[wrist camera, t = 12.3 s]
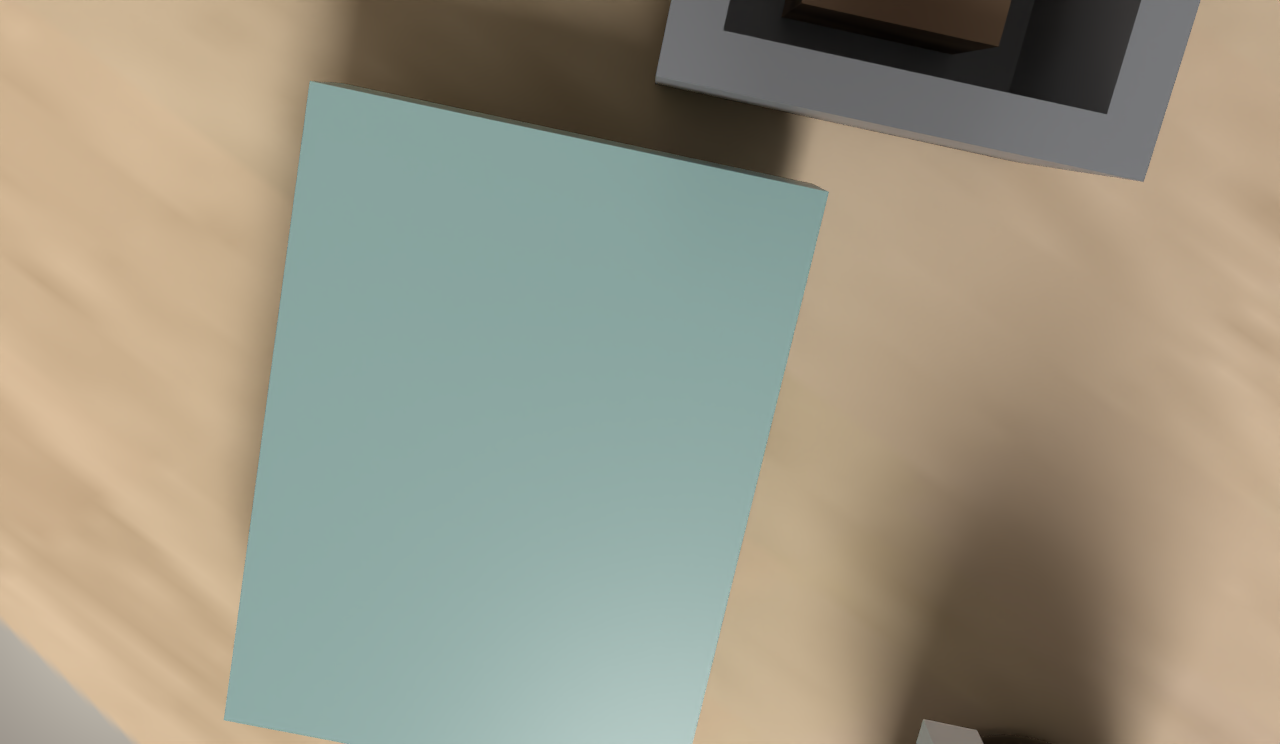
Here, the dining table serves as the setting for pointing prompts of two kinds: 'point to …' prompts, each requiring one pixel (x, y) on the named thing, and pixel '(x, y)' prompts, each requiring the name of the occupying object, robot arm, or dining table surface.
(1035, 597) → the dining table surface
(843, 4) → the walnut block
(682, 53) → the box
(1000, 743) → the supplement bottle
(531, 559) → the lid
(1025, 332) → the dining table surface
